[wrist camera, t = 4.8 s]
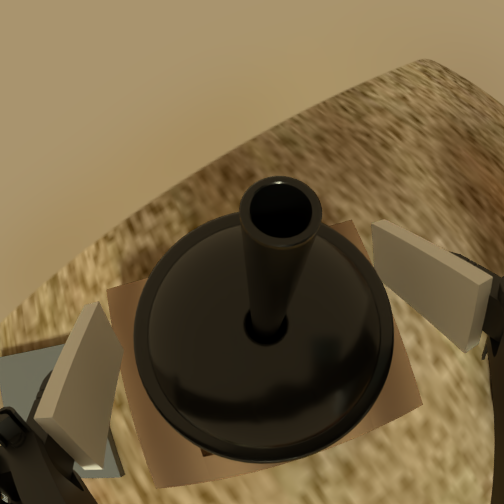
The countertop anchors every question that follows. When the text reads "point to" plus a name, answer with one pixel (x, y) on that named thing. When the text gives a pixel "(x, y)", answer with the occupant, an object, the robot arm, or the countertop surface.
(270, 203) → the drinking cup
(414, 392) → the holder frame
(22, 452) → the robot arm
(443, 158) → the countertop surface
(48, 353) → the slate mat
